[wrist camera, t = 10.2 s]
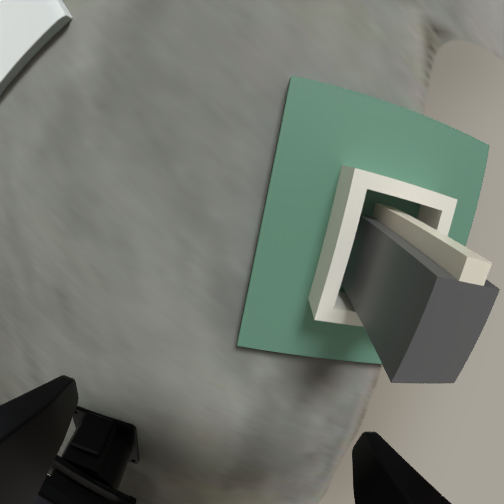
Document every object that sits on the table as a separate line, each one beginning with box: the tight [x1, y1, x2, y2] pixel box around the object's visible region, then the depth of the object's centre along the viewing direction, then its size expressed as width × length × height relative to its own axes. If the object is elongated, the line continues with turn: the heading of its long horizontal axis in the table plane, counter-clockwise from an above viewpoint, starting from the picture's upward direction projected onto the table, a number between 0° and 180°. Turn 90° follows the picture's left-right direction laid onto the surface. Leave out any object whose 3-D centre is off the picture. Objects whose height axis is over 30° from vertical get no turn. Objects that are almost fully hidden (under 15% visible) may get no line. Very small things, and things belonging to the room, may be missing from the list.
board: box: [237, 76, 489, 364], centre depth 17 cm, size 16×13×4 cm
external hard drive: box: [0, 0, 72, 95], centre depth 13 cm, size 2×8×12 cm
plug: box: [341, 203, 499, 383], centre depth 13 cm, size 5×3×9 cm, turn 170°
